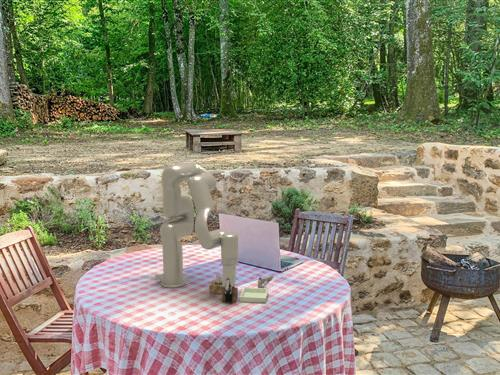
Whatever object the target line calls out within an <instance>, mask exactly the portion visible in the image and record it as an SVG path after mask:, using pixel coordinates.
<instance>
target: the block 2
mask: <svg viewBox="0 0 500 375" xmlns="http://www.w3.org/2000/svg"><path fill="white" fill-rule="evenodd" d="M229 289H230V288H229ZM238 290H239V289H238V287H236V286H235V287H232V302H225V287H224V289H223V291H222V294H221V302H222V303H225V304H226V303H227V304H236V303H237V300H238V298H239V297H238V296H239V294H238V292H239V291H238Z"/></svg>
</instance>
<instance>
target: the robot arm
mask: <svg viewBox="0 0 500 375" xmlns="http://www.w3.org/2000/svg"><path fill="white" fill-rule="evenodd" d="M184 182H187V186H188V191H189V193H190V196H191V198H192V199H191V198H190V197H189V196H187V195H182V190H181V189H182V188H181V186H180V184H179V183H184ZM161 184H162V211H163V212H162V213H163V215H164V216H165V218H167V219H170V220H168V221H165V222H163V223H162V224H161V226H160V228H159V234H160V238H161V245H162V265H163V266H162V268H163V269H162V270H163V272H162V274H160V273H159V274H157V273H156V274H155V276H154V278H155V279H156V280H161V281H160V283H159V284H160V286H161V287H164V288H167V289H168V288H171V289H174V288H181V287H183V286H185V285H186V284H187V279H186V278H184V260H183V259H184V256H183V252H184V251H183V245H182V243H181V242H180V239H182V238H185V237H188V236H190V235H191V234H192V233H193V231H195V235H196V238H197V241H198V243H199V245H200V246H201V247H202V248H203V249H204V250H212V249H216V248H219V247H220V255H221V257H220V258H221V263H220V264H221V265H222V274H221V280H222V287H225V302H232V287H236V286H235V283H236V282H237V281H236V280H237V265H238V264H239V235H238V233H237V232H233V231H227V230H225V229H223V228H218V229H214V230H210V231H209V228H208V217H209V215H210V213H211V212H212V211H213V210H214V208H215V202H214V200H213V197H212V193H211V191H214V190H215V189H216V188H217V179H216V177H215V176H214V175H213V174H212V173H211V172H210V171H208V170H207V169H206V168H204V167H203V166H201V165H199V164H197V163H194V162H183V163H177V164H172V165H169V166H167V167H165V168H164V169H163V171H162V173H161ZM194 210H196V215H194V214H195V211H194ZM225 285H226V286H225ZM229 288H230V289H229Z"/></svg>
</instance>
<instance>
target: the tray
mask: <svg viewBox="0 0 500 375" xmlns="http://www.w3.org/2000/svg"><path fill="white" fill-rule="evenodd" d="M268 297H269V288H265V287H264V288H263V287H262V288H258V287H244V286H243V288H242V291H241V293H240V295H239V303H245V304H246V303H248V304H249V303H250V304H265V305H266V303H267V300H268Z"/></svg>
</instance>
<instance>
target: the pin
mask: <svg viewBox="0 0 500 375" xmlns="http://www.w3.org/2000/svg"><path fill="white" fill-rule="evenodd" d="M215 276H216V278H215V280H216V284H217V285H221V280H222V274H221V273H218V274H216V275H215Z"/></svg>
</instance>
